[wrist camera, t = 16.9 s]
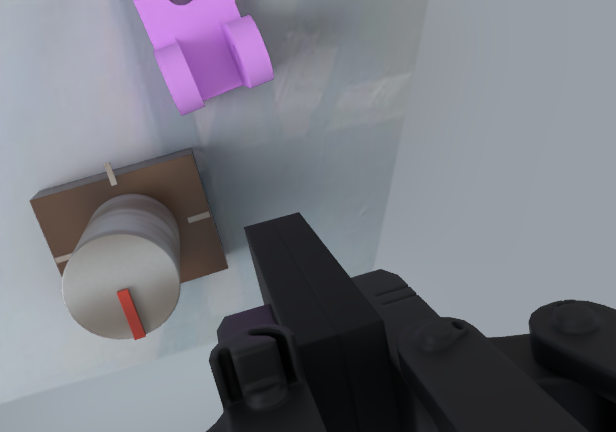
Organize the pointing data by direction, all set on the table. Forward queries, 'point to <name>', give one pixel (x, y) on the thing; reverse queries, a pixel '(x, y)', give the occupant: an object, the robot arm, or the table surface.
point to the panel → (146, 181)
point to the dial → (124, 269)
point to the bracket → (204, 49)
